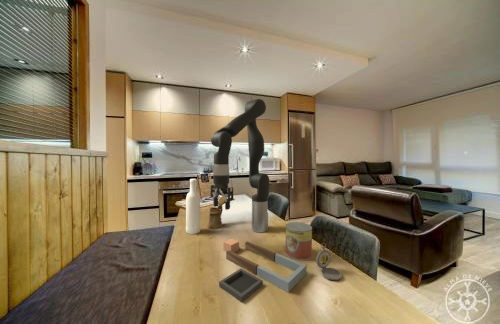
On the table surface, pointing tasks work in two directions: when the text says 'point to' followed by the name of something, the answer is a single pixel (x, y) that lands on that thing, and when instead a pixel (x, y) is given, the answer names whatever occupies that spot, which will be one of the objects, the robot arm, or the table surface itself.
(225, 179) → the robot arm
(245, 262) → the wooden bars
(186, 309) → the table surface
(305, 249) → the canned food
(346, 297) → the table surface
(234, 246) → the terracotta block
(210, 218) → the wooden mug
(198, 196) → the bottle
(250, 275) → the dark gray tray
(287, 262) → the slate bay
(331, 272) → the pocket watch
